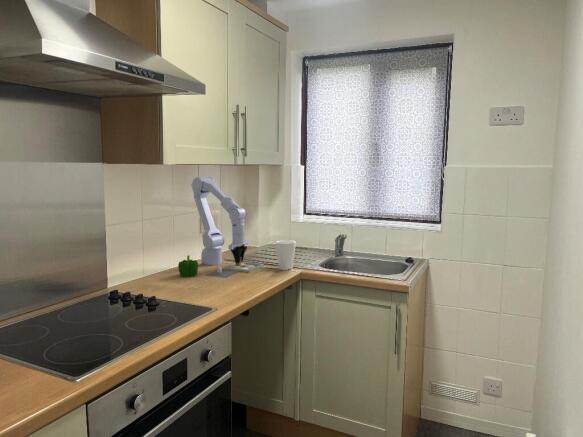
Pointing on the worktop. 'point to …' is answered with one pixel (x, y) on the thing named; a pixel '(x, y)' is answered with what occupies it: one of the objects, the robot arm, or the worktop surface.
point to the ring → (242, 265)
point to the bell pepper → (188, 268)
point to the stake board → (221, 273)
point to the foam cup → (285, 253)
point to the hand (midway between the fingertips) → (239, 262)
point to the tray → (244, 269)
